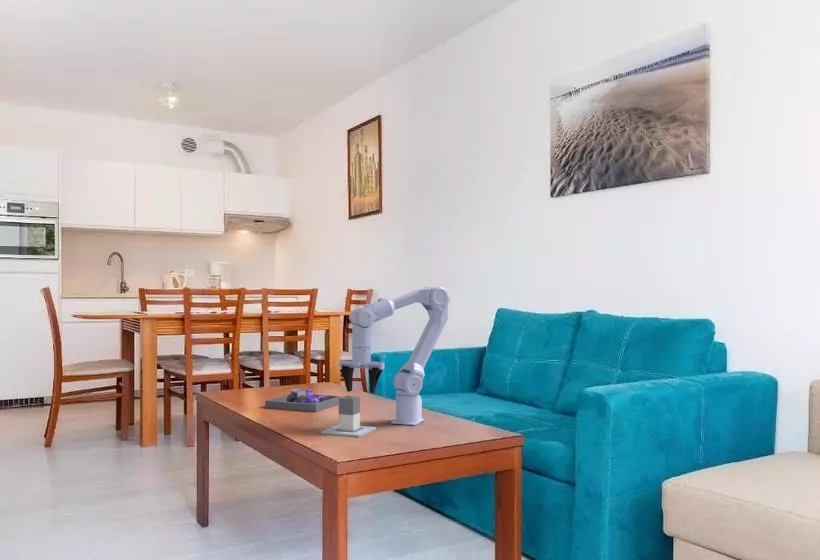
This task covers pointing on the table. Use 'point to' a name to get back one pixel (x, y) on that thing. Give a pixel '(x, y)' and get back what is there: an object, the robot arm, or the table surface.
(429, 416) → the table surface
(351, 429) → the cream block
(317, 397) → the toy race car
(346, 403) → the charcoal block
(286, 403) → the car parking frame
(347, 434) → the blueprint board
